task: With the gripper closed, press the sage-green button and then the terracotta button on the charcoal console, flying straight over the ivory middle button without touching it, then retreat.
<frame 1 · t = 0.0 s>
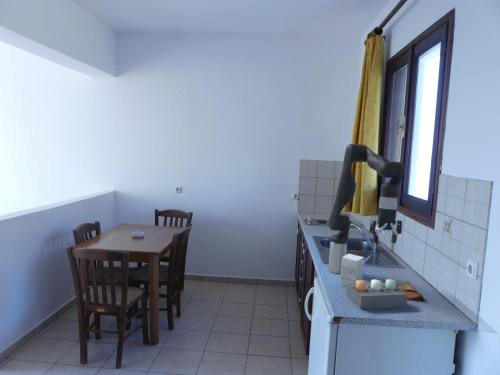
hand: (384, 243, 154), 29 cm above the worktop, fingers open, 8 cm apart
ivory button: (375, 286, 162), point 7 cm above the worktop, slide at 0.0 cm
supplement box: (350, 285, 182), on the worktop
console: (374, 301, 162), on the worktop
sage button: (390, 286, 163), point 7 cm above the worktop, slide at 0.0 cm
terracotta button: (361, 287, 160), point 7 cm above the worktop, slide at 0.0 cm
sunglasses case: (407, 294, 173), on the worktop
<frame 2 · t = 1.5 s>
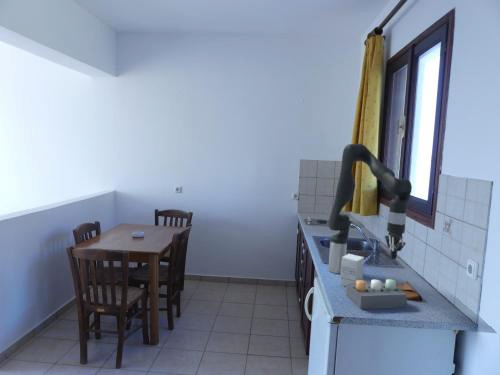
hand: (393, 258, 161), 20 cm above the worktop, fingers closed
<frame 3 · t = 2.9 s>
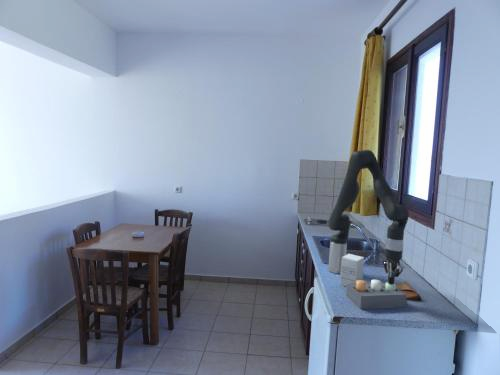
hand: (390, 283, 163), 8 cm above the worktop, fingers closed
sage button: (390, 289, 163), point 5 cm above the worktop, slide at 1.5 cm, touching gripper
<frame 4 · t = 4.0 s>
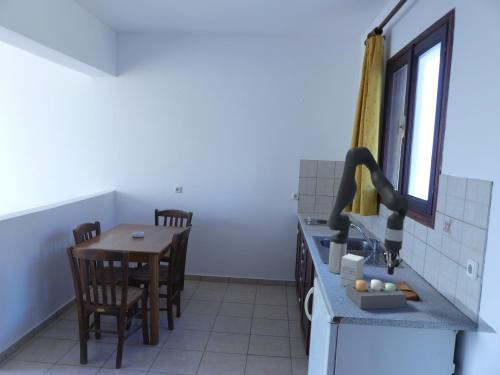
hand: (390, 274, 162), 13 cm above the worktop, fingers closed
sage button: (390, 290, 163), point 5 cm above the worktop, slide at 1.9 cm
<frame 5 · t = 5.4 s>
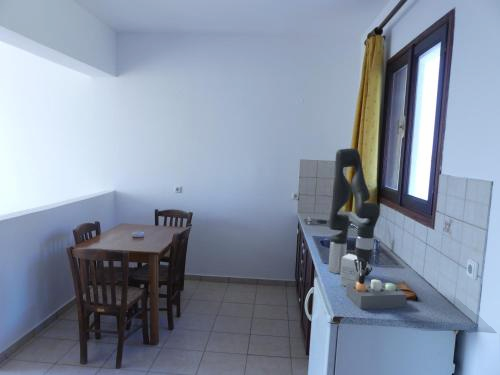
hand: (361, 283, 160), 9 cm above the worktop, fingers closed
terracotta button: (360, 288, 160), point 6 cm above the worktop, slide at 0.6 cm, touching gripper
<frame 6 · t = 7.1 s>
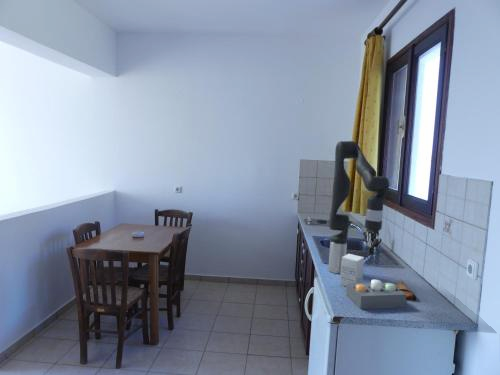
hand: (370, 254, 165), 21 cm above the worktop, fingers closed
terracotta button: (360, 291, 160), point 5 cm above the worktop, slide at 1.9 cm
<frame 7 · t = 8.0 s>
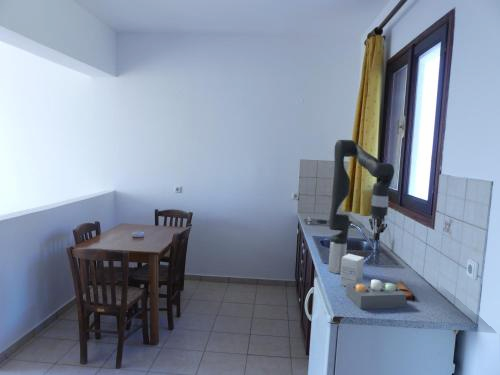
hand: (376, 240, 168), 27 cm above the worktop, fingers closed
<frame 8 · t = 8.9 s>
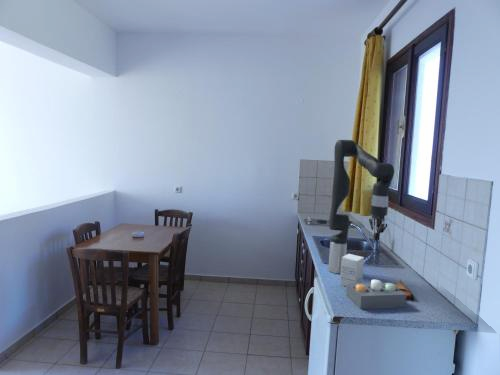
hand: (376, 240, 168), 27 cm above the worktop, fingers closed
at the end: sage button slide at 1.9 cm; terracotta button slide at 1.9 cm; ivory button slide at 0.0 cm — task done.
